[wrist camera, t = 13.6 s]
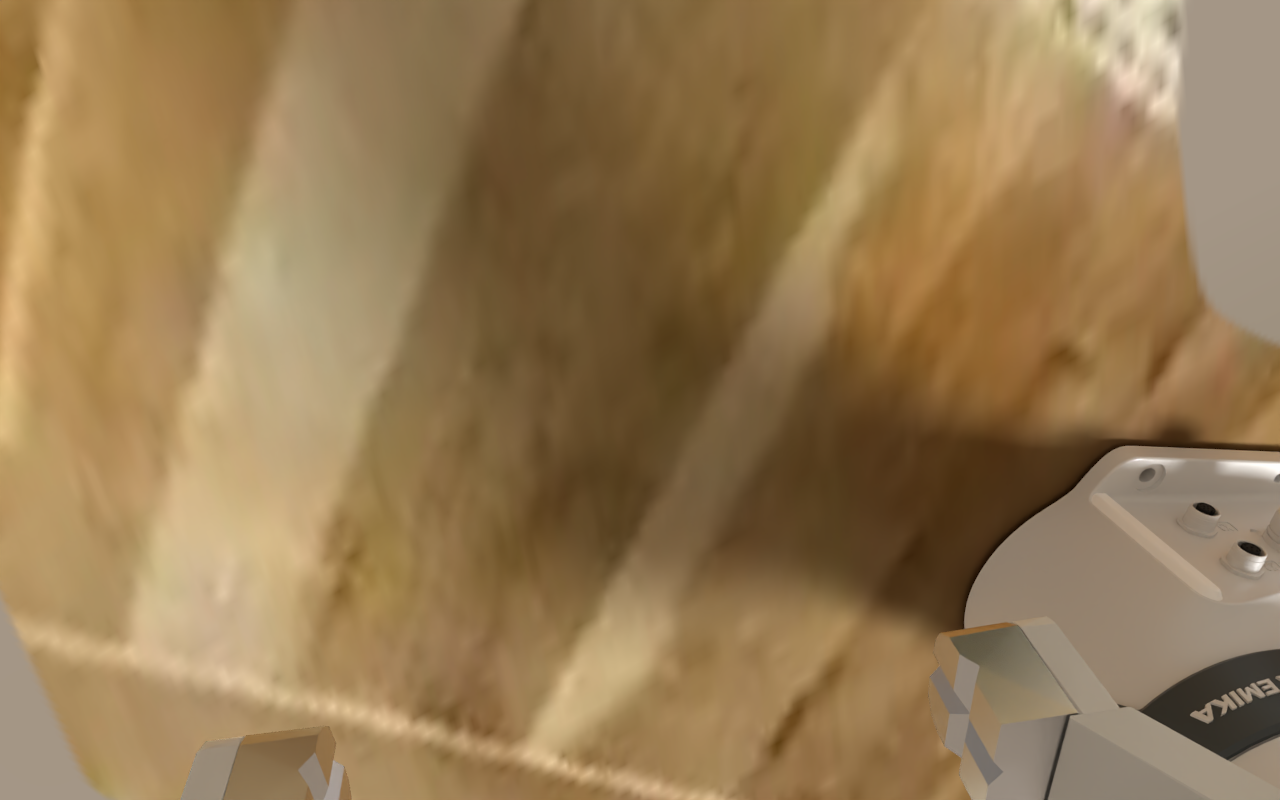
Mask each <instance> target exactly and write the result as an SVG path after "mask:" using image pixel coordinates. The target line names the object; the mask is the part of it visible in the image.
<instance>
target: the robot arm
mask: <svg viewBox="0 0 1280 800" xmlns="http://www.w3.org/2000/svg"><path fill="white" fill-rule="evenodd" d="M964 627H965V629H961V630H954V631H948V632H942V633H940V634H939V635H938V637H937V638H936V640H935V645H934V651H933V654H934V656H935V658H936V659H937V661H938V663H939V665H940V666H939V667H938V668H937V670H936V671H935V672H934V673H933V674H932V675H931V676H930V680H929V690H928V697H929V704H930V710H931V715H932V718H933V721H934V724H935V727H936V730H937V732H938V734H939V736H940V738H941V740H942V742H943V744H944V746H945V747H946V748H948V749H949V750H951V751H952V752H954V753H955V754H957V755H958V756H960V757H961V758H962V760H961V765H960V771H959V776H960V778H961V780H962V782H963V784H964V785H965V787H966V789H967V791H968V793H969V795H970V797H971V799H972V800H1280V452H1269V451H1245V450H1222V449H1198V448H1174V447H1151V446H1123V447H1119V448H1116V449H1114V450H1112V451H1111V452H1109V453H1108V454H1106V455H1105V456H1104V457H1103V458H1102V459H1100V460H1099V461H1098V462H1097V463H1096V464H1095V465H1094V466H1093V467H1092V468H1091V470H1090V471H1089V472H1088V473H1087V474H1086V475H1085V476H1084V477H1083V478H1082V480H1081V481H1080V482H1079V483H1078V484H1077V485H1076V487H1075V488H1074V489H1073V490H1072V491H1070V492H1069V493H1068V494H1067V495H1065V496H1064V497H1062V498H1061V499H1059V500H1058V501H1056V502H1055V503H1053V504H1052V505H1050V506H1049V507H1047V508H1045V509H1044V510H1042V511H1041V512H1039V513H1038V514H1036V515H1035V516H1033V517H1032V518H1031V519H1029V520H1028V521H1027V522H1025V523H1024V524H1023V525H1021V526H1020V527H1019V528H1018V529H1017V530H1016V531H1014V532H1013V533H1012V534H1011V535H1010V536H1009V537H1008V538H1007V539H1006V540H1005V541H1004V542H1003V543H1002V544H1001V545H1000V546H999V547H998V548H997V549H996V551H995V552H994V553H993V554H992V555H991V557H990V558H989V559H988V561H987V562H986V564H985V565H984V567H983V568H982V570H981V571H980V573H979V575H978V576H977V578H976V580H975V582H974V584H973V586H972V589H971V591H970V594H969V597H968V600H967V604H966V609H965V617H964ZM335 747H336V742H335V739H334V737H333V735H332V732H331V730H330V727H328V726H319V727H311V728H303V729H295V730H287V731H279V732H271V733H263V734H254V735H246V736H242V737H235V738H227V739H219V740H212V741H206V742H205V743H204V744H203V746H202V747H201V748H200V750H199V751H198V752H197V753H196V756H195V759H194V762H193V765H192V768H191V771H190V774H189V777H188V779H187V782H186V785H185V788H184V791H183V794H182V797H181V800H351V791H350V785H349V779H348V776H347V773H346V770H345V767H344V766H343V765H341V764H339V763H338V762H336V761H334V760H333V759H334V753H335Z"/></svg>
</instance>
